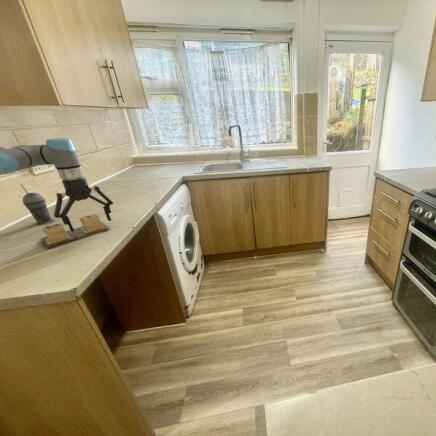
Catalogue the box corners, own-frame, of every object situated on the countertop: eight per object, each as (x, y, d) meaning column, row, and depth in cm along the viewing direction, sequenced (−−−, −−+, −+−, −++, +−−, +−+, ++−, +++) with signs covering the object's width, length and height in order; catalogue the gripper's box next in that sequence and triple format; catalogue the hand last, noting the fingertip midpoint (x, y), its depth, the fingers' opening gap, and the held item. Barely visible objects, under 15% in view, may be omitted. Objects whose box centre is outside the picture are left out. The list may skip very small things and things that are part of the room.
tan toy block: (47, 239, 99) (41, 226, 97) (65, 234, 103) (59, 222, 101) (50, 243, 96) (44, 230, 94) (68, 237, 100) (62, 225, 98)
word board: (43, 240, 101) (41, 238, 100) (100, 224, 115) (99, 221, 115) (48, 249, 94) (47, 246, 93) (108, 231, 108) (107, 228, 108)
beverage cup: (56, 223, 117) (36, 183, 108) (36, 228, 112) (13, 187, 104) (55, 219, 121) (35, 180, 113) (35, 224, 117) (13, 184, 108)
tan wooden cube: (83, 228, 108) (79, 217, 106) (98, 224, 112) (94, 213, 110) (87, 232, 105) (82, 220, 102) (102, 227, 109) (98, 215, 106)
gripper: (32, 186, 88) (56, 238, 97) (111, 173, 106) (126, 218, 114) (29, 183, 93) (52, 233, 101) (105, 171, 110) (120, 214, 119)
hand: (91, 225), depth 108 cm, fingers open, 13 cm apart
